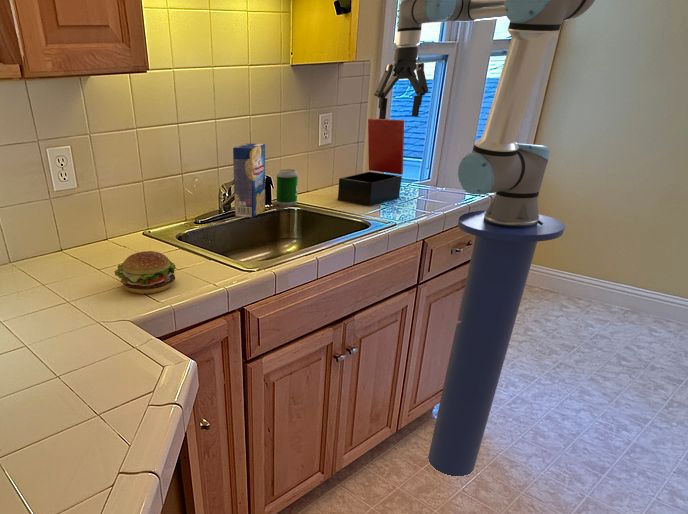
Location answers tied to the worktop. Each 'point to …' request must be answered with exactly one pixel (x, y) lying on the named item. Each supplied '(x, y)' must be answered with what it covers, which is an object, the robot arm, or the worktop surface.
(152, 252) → the food
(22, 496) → the worktop surface
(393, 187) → the black open box
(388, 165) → the lid
